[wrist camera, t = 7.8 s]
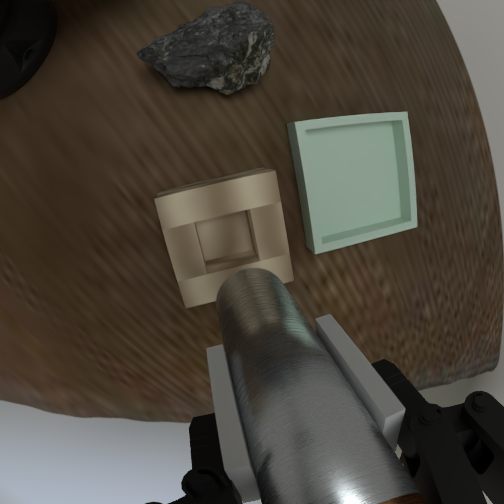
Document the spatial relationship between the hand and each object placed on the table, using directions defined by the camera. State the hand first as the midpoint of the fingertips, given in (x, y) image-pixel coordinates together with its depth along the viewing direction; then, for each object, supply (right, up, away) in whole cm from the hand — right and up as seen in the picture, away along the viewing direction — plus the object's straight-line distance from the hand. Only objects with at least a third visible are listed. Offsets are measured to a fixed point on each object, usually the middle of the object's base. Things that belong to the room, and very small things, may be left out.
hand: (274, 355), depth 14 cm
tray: (+12, +14, +23) cm, 30 cm away
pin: (-1, +2, +5) cm, 6 cm away
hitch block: (-4, +7, +22) cm, 24 cm away
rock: (-6, +25, +16) cm, 31 cm away
